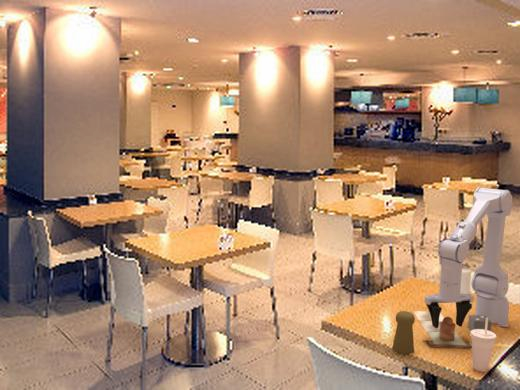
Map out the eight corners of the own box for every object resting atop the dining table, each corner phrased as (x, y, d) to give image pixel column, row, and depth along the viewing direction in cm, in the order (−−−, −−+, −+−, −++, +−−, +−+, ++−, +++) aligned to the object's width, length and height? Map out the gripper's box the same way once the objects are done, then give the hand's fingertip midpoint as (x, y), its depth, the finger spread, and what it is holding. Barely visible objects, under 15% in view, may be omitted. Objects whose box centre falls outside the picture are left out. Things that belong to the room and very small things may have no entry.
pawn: (449, 334, 165) (450, 314, 164) (457, 340, 161) (458, 319, 160) (436, 335, 164) (437, 314, 163) (443, 341, 160) (445, 320, 159)
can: (471, 300, 199) (474, 268, 197) (453, 300, 199) (456, 268, 197) (465, 294, 205) (467, 263, 204) (447, 294, 206) (450, 263, 204)
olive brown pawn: (415, 355, 152) (417, 317, 151) (392, 353, 154) (394, 315, 152) (413, 346, 158) (415, 309, 157) (391, 344, 159) (394, 307, 158)
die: (484, 331, 171) (485, 315, 170) (490, 337, 166) (491, 321, 166) (467, 330, 171) (469, 314, 171) (473, 336, 166) (474, 320, 166)
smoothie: (491, 376, 141) (495, 324, 139) (465, 369, 144) (469, 318, 142) (495, 367, 146) (499, 316, 144) (470, 360, 150) (474, 311, 148)
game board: (444, 314, 184) (444, 311, 184) (471, 348, 158) (472, 345, 158) (407, 313, 185) (408, 310, 185) (429, 347, 158) (429, 343, 158)
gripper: (465, 276, 165) (462, 319, 167) (420, 278, 162) (417, 322, 164) (479, 283, 158) (475, 328, 160) (432, 285, 155) (429, 331, 157)
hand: (447, 326), depth 162 cm, fingers open, 7 cm apart
